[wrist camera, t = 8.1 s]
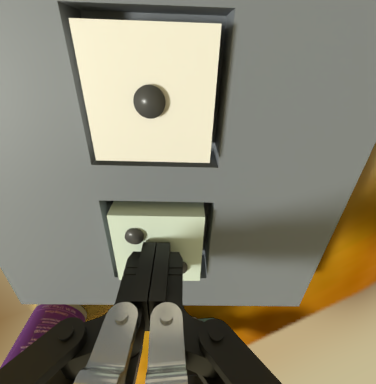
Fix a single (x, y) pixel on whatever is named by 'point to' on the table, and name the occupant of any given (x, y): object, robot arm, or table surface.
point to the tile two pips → (158, 231)
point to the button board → (184, 171)
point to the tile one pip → (148, 87)
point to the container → (43, 324)
